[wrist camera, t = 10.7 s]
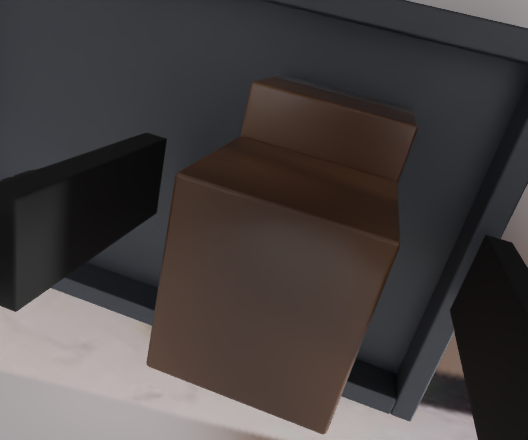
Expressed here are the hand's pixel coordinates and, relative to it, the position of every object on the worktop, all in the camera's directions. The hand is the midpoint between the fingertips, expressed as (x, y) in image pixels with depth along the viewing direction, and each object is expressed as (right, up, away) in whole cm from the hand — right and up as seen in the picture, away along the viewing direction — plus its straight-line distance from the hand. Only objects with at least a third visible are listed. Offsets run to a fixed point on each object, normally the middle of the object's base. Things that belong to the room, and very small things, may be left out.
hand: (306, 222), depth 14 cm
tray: (-4, +3, +4) cm, 6 cm away
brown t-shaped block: (+1, +1, +2) cm, 2 cm away
